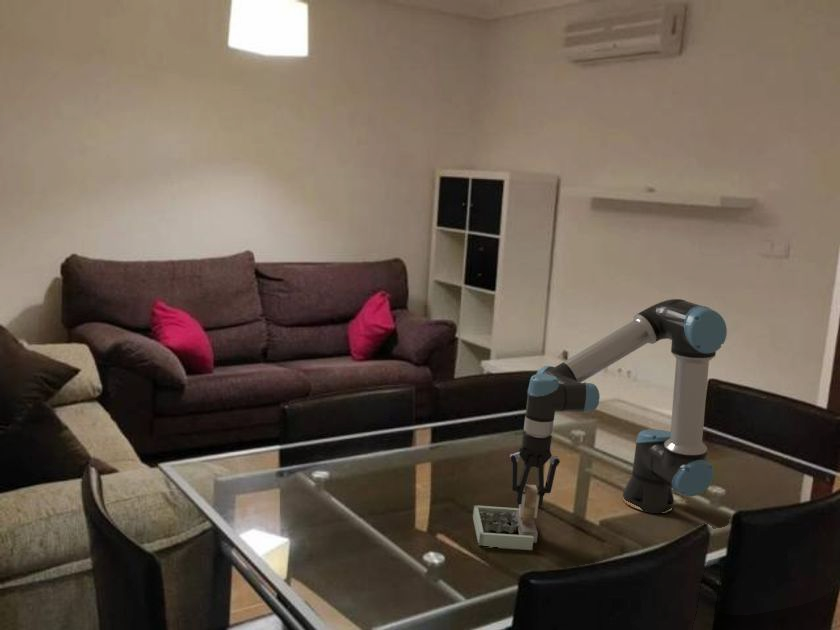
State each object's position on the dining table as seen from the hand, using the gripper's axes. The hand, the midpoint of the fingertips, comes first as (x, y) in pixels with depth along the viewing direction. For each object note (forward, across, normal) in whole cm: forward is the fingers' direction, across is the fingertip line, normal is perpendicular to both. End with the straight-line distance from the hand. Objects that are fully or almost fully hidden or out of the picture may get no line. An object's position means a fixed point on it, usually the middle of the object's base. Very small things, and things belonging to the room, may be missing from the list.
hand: (527, 515), depth 210 cm
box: (+6, +6, 0) cm, 8 cm away
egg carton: (+6, +7, -4) cm, 10 cm away
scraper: (+5, 0, 0) cm, 5 cm away
